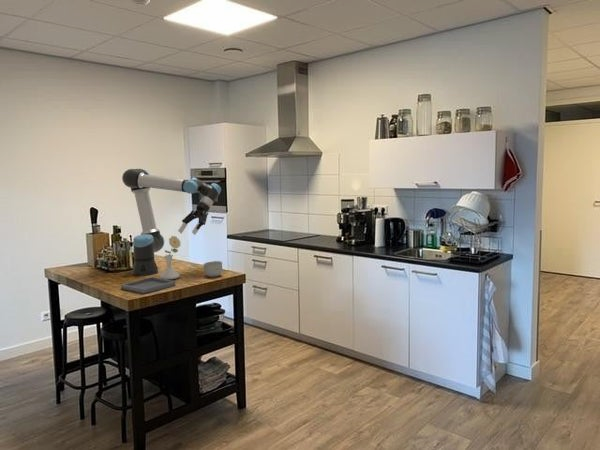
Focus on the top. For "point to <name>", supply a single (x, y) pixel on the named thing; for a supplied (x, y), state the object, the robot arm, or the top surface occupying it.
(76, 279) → the top surface
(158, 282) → the charcoal tray
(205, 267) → the teacup
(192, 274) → the top surface
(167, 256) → the flower in vase
